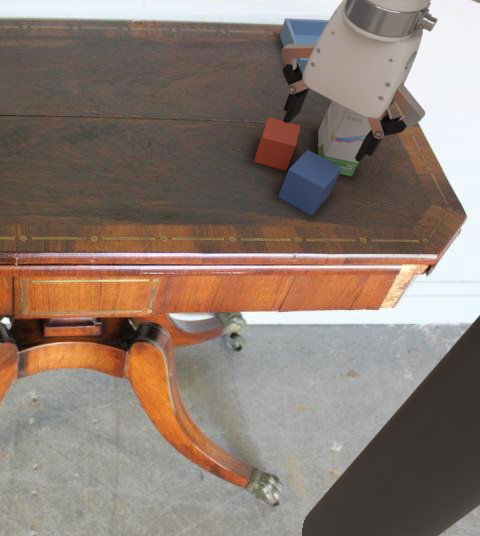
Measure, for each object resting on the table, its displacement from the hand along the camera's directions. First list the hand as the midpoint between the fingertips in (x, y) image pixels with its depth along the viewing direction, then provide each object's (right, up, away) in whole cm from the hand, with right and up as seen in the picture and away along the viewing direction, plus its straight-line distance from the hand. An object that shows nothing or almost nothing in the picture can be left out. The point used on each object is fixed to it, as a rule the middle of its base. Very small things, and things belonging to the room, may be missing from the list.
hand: (325, 136), depth 86 cm
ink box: (+6, 0, +14) cm, 15 cm away
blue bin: (+9, +18, +28) cm, 34 cm away
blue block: (0, -7, +8) cm, 10 cm away
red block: (-3, -1, +12) cm, 13 cm away
